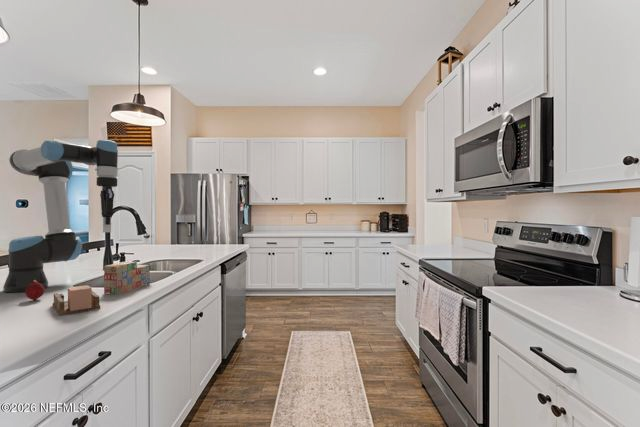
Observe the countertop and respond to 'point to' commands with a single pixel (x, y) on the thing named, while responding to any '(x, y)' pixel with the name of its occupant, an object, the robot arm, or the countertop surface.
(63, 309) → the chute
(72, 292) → the block
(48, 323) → the countertop surface
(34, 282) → the onion
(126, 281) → the stack of blocks
